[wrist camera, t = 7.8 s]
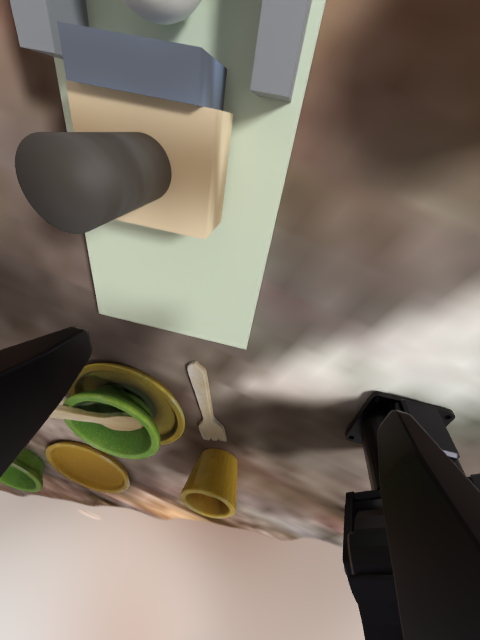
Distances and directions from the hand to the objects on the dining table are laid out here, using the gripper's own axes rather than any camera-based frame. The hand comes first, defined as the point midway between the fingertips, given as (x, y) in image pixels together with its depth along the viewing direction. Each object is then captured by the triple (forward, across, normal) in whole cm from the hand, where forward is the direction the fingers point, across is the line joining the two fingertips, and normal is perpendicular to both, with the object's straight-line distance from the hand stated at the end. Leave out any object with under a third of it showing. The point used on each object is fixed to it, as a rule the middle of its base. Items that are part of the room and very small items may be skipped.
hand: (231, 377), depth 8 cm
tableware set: (+12, +18, +30) cm, 37 cm away
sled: (+10, +6, -5) cm, 13 cm away
